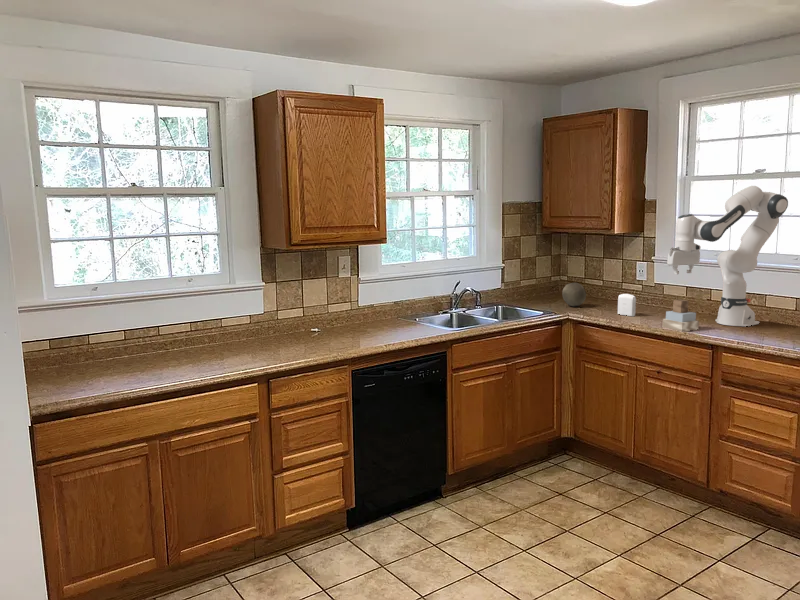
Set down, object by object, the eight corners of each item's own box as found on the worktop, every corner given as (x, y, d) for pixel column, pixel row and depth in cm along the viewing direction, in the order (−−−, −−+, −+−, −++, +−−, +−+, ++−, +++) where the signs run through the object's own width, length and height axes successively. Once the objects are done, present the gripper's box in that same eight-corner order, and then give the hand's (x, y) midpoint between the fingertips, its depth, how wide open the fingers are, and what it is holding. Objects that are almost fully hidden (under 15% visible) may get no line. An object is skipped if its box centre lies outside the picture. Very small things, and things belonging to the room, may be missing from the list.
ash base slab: (678, 326, 337) (679, 317, 337) (698, 330, 327) (698, 320, 326) (662, 328, 332) (662, 319, 331) (681, 332, 321) (682, 322, 321)
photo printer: (616, 314, 371) (617, 293, 370) (620, 313, 374) (621, 292, 372) (632, 316, 364) (633, 295, 362) (636, 316, 366) (637, 294, 364)
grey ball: (564, 304, 408) (565, 281, 406) (587, 305, 402) (588, 282, 400) (559, 307, 395) (560, 283, 393) (583, 309, 389) (584, 284, 387)
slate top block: (678, 317, 336) (679, 309, 335) (695, 320, 327) (696, 312, 326) (665, 319, 331) (666, 311, 330) (682, 322, 322) (682, 314, 322)
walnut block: (679, 310, 332) (680, 299, 331) (687, 312, 328) (688, 300, 327) (672, 311, 330) (673, 300, 329) (680, 313, 325) (681, 301, 325)
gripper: (675, 247, 318) (673, 275, 320) (702, 246, 328) (701, 273, 330) (664, 247, 324) (663, 274, 326) (692, 245, 333) (690, 271, 335)
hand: (682, 273), depth 328 cm, fingers open, 8 cm apart
